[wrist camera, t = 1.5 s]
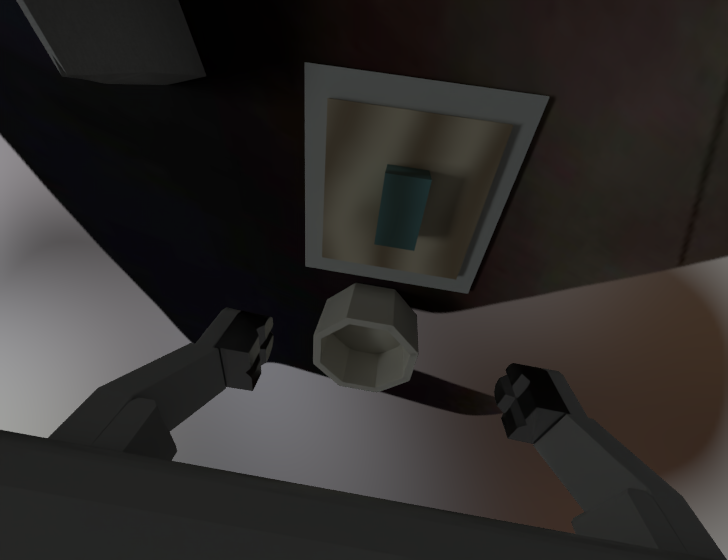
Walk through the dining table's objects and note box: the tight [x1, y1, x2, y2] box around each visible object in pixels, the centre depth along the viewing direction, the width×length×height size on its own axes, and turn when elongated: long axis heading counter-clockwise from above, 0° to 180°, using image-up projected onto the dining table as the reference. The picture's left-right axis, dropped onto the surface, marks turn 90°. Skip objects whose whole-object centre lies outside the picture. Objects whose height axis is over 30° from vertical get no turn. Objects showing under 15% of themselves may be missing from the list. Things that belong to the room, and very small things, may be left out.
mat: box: [305, 62, 549, 294], centre depth 26 cm, size 18×18×1 cm
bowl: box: [313, 283, 418, 392], centre depth 33 cm, size 11×11×6 cm
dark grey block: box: [17, 0, 206, 85], centre depth 17 cm, size 4×7×10 cm, turn 9°
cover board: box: [322, 98, 513, 280], centre depth 24 cm, size 14×14×4 cm
